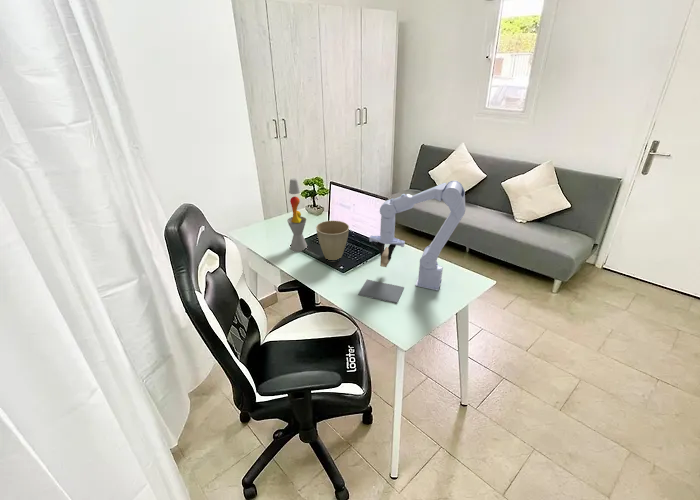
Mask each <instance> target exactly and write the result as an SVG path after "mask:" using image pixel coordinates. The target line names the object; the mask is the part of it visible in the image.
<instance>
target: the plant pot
mask: <svg viewBox="0 0 700 500" xmlns="http://www.w3.org/2000/svg"><path fill="white" fill-rule="evenodd" d="M315 227H316V228H315V229H316V235H317V238H318V243H319V246H320V249H321V251H322V253H323V256H324V258H325V260H326V259H328V260H337V259H339V258H342V256H343V254H344V251H345V248H346V245H347V242H348V238H349V233H350V232H349V231H350V226H349V224H348V223H346V222H344V221H340V220H325V221H322V222H320V223H318V224H317V225H316V226H315ZM328 260H327V261H328Z"/></svg>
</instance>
